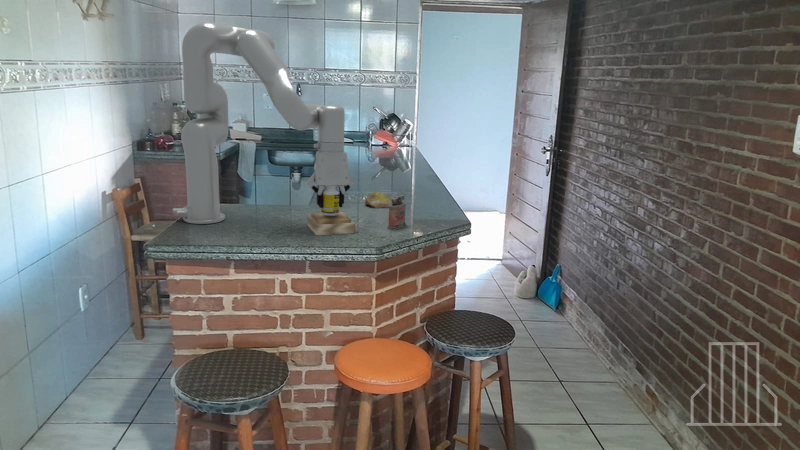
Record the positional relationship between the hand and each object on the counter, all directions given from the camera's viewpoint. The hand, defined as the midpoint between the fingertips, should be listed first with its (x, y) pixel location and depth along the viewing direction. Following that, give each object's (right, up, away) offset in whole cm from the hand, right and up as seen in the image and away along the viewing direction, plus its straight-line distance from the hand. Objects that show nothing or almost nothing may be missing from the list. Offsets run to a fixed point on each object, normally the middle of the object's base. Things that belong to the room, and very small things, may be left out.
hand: (330, 206), depth 182 cm
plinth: (0, -7, +2) cm, 7 cm away
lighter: (+20, -7, +8) cm, 23 cm away
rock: (+13, +1, +37) cm, 39 cm away
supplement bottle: (0, -3, +1) cm, 3 cm away
